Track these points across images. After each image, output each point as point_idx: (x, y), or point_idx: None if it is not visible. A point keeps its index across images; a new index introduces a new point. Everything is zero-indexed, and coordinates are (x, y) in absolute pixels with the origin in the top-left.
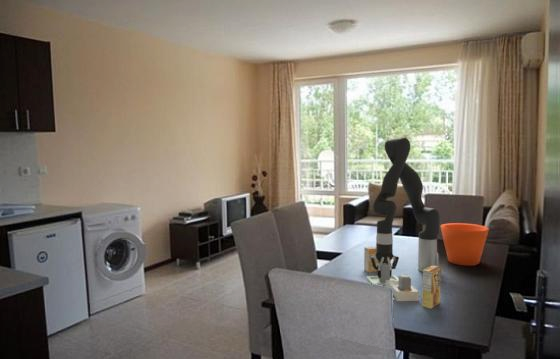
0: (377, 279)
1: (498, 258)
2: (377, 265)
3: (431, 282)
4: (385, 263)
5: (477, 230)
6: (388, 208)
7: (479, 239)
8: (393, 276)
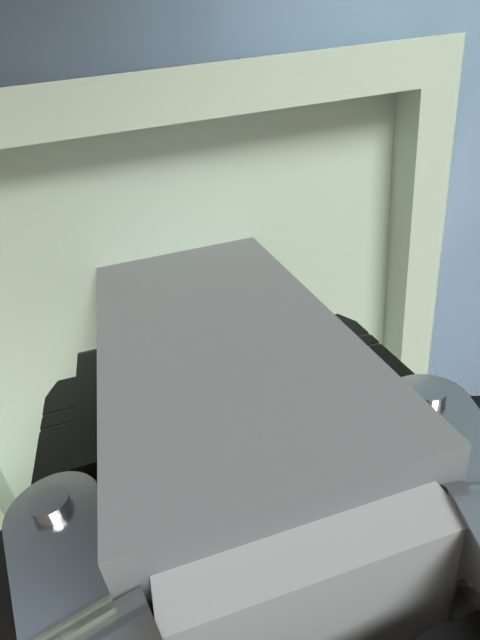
0: (67, 208)
1: None
2: (23, 635)
3: None
4: (395, 601)
5: None
6: None
7: None
8: (417, 109)
